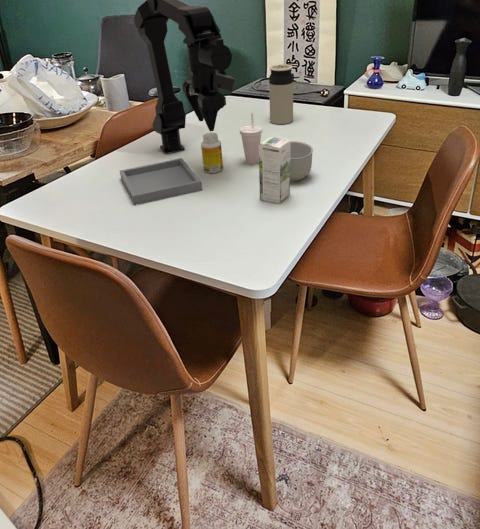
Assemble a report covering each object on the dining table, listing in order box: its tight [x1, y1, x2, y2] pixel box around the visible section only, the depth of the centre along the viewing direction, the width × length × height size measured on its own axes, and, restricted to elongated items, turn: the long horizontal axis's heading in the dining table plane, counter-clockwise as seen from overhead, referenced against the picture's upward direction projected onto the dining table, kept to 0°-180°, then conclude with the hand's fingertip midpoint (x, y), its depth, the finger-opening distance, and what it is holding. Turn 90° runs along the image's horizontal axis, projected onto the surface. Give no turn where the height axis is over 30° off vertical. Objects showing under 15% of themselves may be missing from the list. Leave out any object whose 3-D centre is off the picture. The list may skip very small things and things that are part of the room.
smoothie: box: [239, 112, 263, 165], centre depth 138 cm, size 6×6×14 cm
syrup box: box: [258, 136, 292, 205], centre depth 119 cm, size 6×6×14 cm
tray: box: [119, 157, 203, 206], centre depth 132 cm, size 18×18×2 cm
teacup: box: [290, 140, 314, 182], centre depth 130 cm, size 14×11×8 cm
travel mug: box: [268, 63, 294, 125], centre depth 166 cm, size 8×8×18 cm
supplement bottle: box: [200, 132, 224, 174], centre depth 136 cm, size 6×6×10 cm
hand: (206, 125), depth 131 cm, fingers open, 9 cm apart
